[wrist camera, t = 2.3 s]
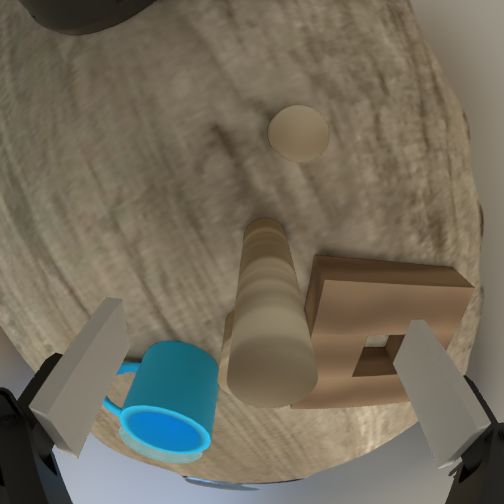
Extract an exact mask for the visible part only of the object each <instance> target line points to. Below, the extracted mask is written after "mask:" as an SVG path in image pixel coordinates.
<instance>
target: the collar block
mask: <svg viewBox="0 0 504 504" xmlns="http://www.w3.org/2000/svg"><path fill="white" fill-rule="evenodd" d="M474 289H475V287H473V286H472V285H471V284H470V283H469V282H468V281H467V280H466V279H465V278H464V277H463V276H462V275H460V274H459V273H458V272H457V271H456V270H455V269H454V268H453V267H444V266H433V265H421V264H410V263H399V262H387V261H376V260H364V259H353V258H341V257H330V256H318V255H315V256H314V262H313V267H312V273H311V278H310V283H309V288H308V293H307V298H306V303H305V308H304V312H305V316H306V320H307V325H308V329H309V334H310V339H311V343H312V348H313V352H314V357H315V362H316V367H317V372H318V381H317V384H316V386H315V388H314V389H313V391H312V392H311V393H310V394H309V395H308V396H307V397H305V398H304V399H302V400H300V401H299V402H296V403H294V404H291V409H325V408H347V407H362V406H373V405H383V404H392V403H400V402H407V401H410V399H409V397H408V395H407V393H406V391H405V389H404V386H403V384H402V382H401V380H400V378H399V376H398V374H397V372H396V369H395V367H394V365H393V362H394V360H395V357H396V355H397V353H398V351H399V349H400V346H401V344H402V342H403V339H404V337H405V335H406V332H407V330H408V328H409V325H410V323H411V320H424V321H425V322H426V323H427V325H428V326H429V327H430V329H431V330H432V332H433V333H434V334H435V336H436V337H437V339H438V340H439V341H440V343H441V344H442V346H443V347H444V349H445V350H447V348H448V346H449V344H450V342H451V340H452V338H453V336H454V334H455V332H456V330H457V328H458V326H459V324H460V321H461V319H462V317H463V315H464V313H465V310H466V308H467V306H468V303H469V301H470V299H471V296H472V294H473V291H474ZM368 335H390V337H389V339H388V341H387V344H386V346H385V347H377V348H364V345H365V342H366V340H367V337H368Z"/></svg>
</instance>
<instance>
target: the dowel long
mask: <svg viewBox="0 0 504 504" xmlns="http://www.w3.org/2000/svg"><path fill="white" fill-rule="evenodd" d="M317 381H318V372H317V367H316V362H315V357H314V352H313V348H312V343H311V339H310V334H309V329H308V325H307V320H306V316H305V312H304V307H303V303H302V299H301V294H300V290H299V286H298V281H297V277H296V273H295V269H294V265H293V261H292V257H291V253H290V249H289V245H288V241H287V237H286V233H285V230H284V228H283V227H282V225H281V224H279V223H278V222H277V221H275V220H273V219H268V218H262V219H258V220H255V221H254V222H252V223H251V224H250V225H249V226H248V227H247V229H246V231H245V233H244V240H243V248H242V256H241V263H240V271H239V279H238V288H237V296H236V304H235V312H234V320H233V329H232V337H231V345H230V354H229V362H228V371H227V385H228V388H229V390H230V391H231V393H232V394H233V395H234V396H235V397H236V398H238V399H239V400H241V401H242V402H244V403H247V404H249V405H252V406H256V407H262V408H278V407H284V406H288V405H291V404H294V403H296V402H299V401H300V400H302V399H304V398H305V397H307V396H308V395H309V394H310V393H311V392H312V391H313V389H314V388H315V386H316V384H317Z"/></svg>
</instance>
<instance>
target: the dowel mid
mask: <svg viewBox="0 0 504 504" xmlns="http://www.w3.org/2000/svg"><path fill="white" fill-rule="evenodd" d="M234 312H235V310H234V311H232V312H231V313H230V314H229V315H228V316H227V319H226V324H225V331H224V337H223V344H222V351H221V357H220V364H219V371H218V377H217V382H218V385H219V386H220V388H221V389H223V390H224V391H225V392H227V393H230V394H232V393H231V391H230V390H229V388H228V385H227V371H228V362H229V354H230V345H231V337H232V329H233V320H234Z"/></svg>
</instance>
